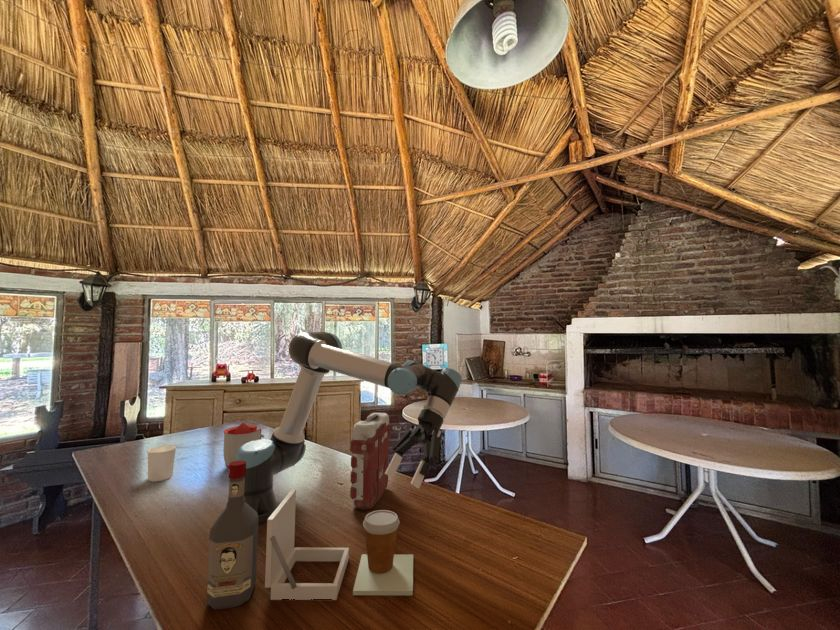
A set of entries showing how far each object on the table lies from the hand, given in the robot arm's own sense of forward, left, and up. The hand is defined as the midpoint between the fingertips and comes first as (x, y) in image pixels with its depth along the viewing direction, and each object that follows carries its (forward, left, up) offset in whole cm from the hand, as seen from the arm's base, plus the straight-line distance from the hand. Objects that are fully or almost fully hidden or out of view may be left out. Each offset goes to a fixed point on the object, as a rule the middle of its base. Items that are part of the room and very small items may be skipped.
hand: (400, 480), depth 100 cm
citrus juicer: (-75, +66, -20) cm, 102 cm away
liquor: (-38, -16, -20) cm, 46 cm away
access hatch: (-21, -10, -20) cm, 31 cm away
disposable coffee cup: (-5, -7, -19) cm, 21 cm away
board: (-3, -9, -20) cm, 22 cm away
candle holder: (-103, +52, -20) cm, 117 cm away
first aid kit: (-12, +34, -20) cm, 41 cm away
